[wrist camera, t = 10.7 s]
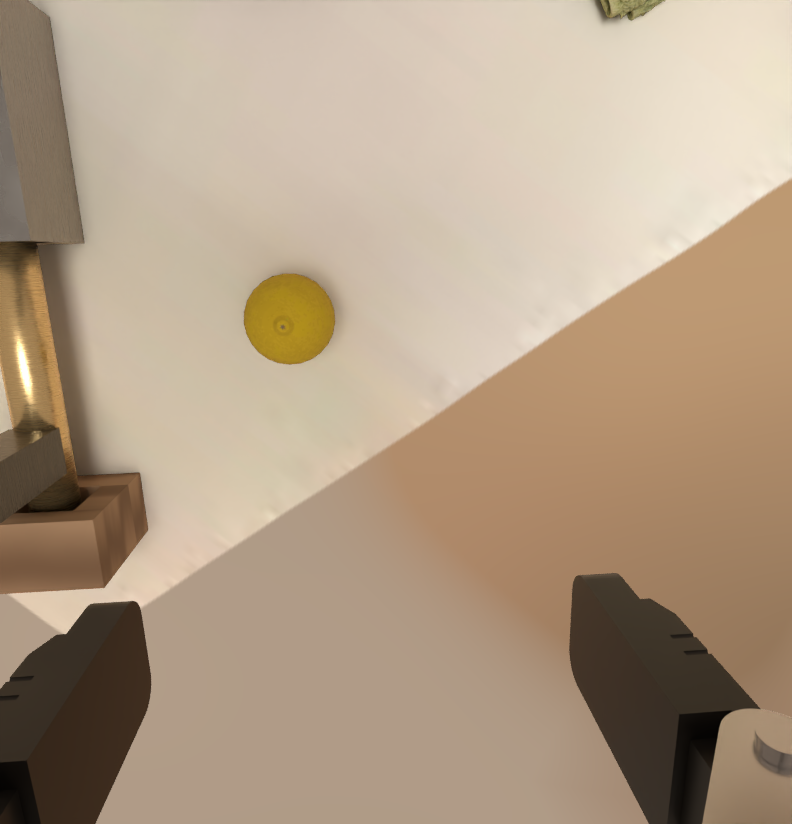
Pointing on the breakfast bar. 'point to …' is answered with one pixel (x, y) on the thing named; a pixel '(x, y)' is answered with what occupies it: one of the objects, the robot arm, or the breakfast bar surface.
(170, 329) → the breakfast bar surface
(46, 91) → the sleeve
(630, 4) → the washcloth
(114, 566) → the socket
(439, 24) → the breakfast bar surface
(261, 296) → the lemon
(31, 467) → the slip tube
